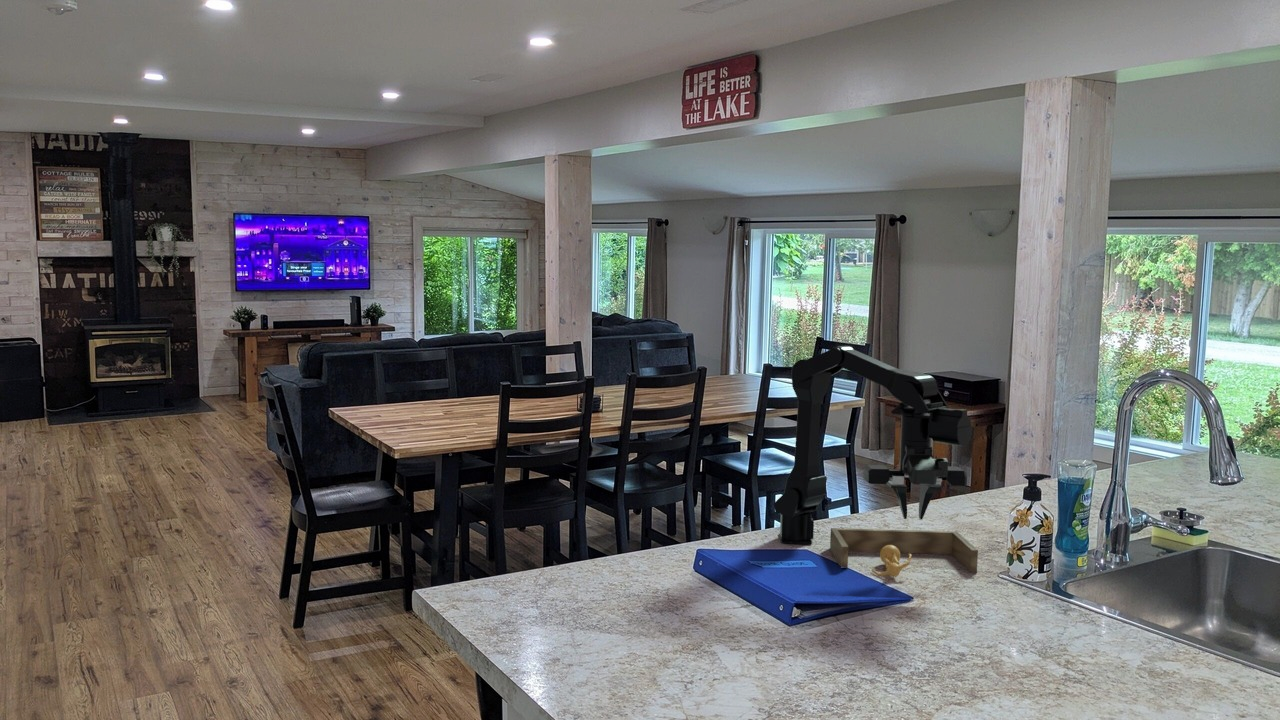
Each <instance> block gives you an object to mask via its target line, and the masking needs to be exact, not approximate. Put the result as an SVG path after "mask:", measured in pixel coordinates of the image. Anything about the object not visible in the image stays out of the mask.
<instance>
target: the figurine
mask: <svg viewBox="0 0 1280 720" xmlns="http://www.w3.org/2000/svg"><path fill="white" fill-rule="evenodd" d="M912 554H913V553H907V555H908V556H909V557H908V559H907V561H906V562H905V563H903V564H900V562H899V561H900V559H901V552H900V551H899V550H898V548H897V547H895V546H893V545H886V546H884V547H883V548H882V549H881V551H880V552H879V557H880V560H881V562H883V564H884V565H885V568H886V570H885V571H883V572H881V573H879V572H878V571H876V570H875V569H874V567H872V568H871V572H872V573H873V574H875V575H876V576H877V577H883V576H887V575H889V576H891V577H898V576H899V575H900V573H901V570H902V569H904V568H906V567H907V566H909V565H910V564H911V560H912V556H913V555H912Z"/></svg>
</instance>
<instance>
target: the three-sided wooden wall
mask: <svg viewBox="0 0 1280 720" xmlns="http://www.w3.org/2000/svg"><path fill="white" fill-rule="evenodd" d="M829 538H830V542H829V543H830V544H829V545H830V547H829V550H830V551H831V553H832V555H833V557H834V558H835V561H836V562H837V563H838V565H839V567H840V566H842V567H845V568H848V567H849V566H848V565H849V564H848V563H849V552H870V553H871V552H872V553H876V552H877V553H880V551H881V549H882V548H883V547H884V546H886V545H893V546H895V547H897V548H898V550H899V551H900V554H901V553H903V554H904V553H905V554H909V553H911V554H939V555H940V554H941V555H942V554H944V555H947V554H948V555H952V556H953V557H955V559H957V561H959V562H960V564H961V565H962V566H963V567H964V568H965V569H966V570H968V571H969V573H971V574H973V573H974V574H975V573H978V562H979V561H978V559H979V556H978V555H979V549H978V548H976V547H975V546H974V545H973V544H971V543H970V541H968V540H967V539H966V538H965V537H964V536H963V535H961V533H959V532H958V531H957V530H956V531H954V530H952V531H949V530H917V529H916V530H913V529H912V530H909V529H880V528H879V529H878V528H877V529H876V528H874V529H872V528H866V529H865V528H845V527H844V528H842V527H841V528H837V527H831V528H830V537H829ZM848 569H849V568H848Z"/></svg>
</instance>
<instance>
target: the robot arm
mask: <svg viewBox="0 0 1280 720" xmlns="http://www.w3.org/2000/svg"><path fill="white" fill-rule="evenodd" d="M843 369H844V370H846V371H848V372H851V373H853V374H856V375H857V376H859V377H861V378H864V379H867V380H869V381H870V382H873V383H875V384H877V385H879V386H882V387H883V388H884V389H886V390H887V391H888V392H889V394H890V395H891V396H892V397H893V398H895V399H896V400H897V401H899V403H898V404H897V406H896V407H894V408H893V409H891V411H890V413H891V414H892V415H896V416H900V417H901V418H900V421H901V422H900V441H899V445H898V447H899V448H900V449H899V463H898V468H899V469H889V468H888V467H887V466H886V465H884V464H866V465H865V466H864V467H863V475H862V476H863V480H865V481H866V482H867V483H868V484H870V485H871V484H872V485H887V486H888V487H890V488H891V489H893V492H894V494H895V496H896V499H897V502H898V505H899V508H900V510H901V511H900V512H901V514H902V518H903V519H904V520H907V519H908V517H907V516H908V502H907V490H908V486H907V485H906V484H905V480H907V481H908V480H909V482H910V483H911V484H913V485H920V486H919V487H920V488H919V499H918V500H919V502H918V518H919V520H923V519H924V516H925V514H926V511H927V509H928V506H929V504H930V502H931V500H932V498H933V496H934V495H935V493H937V492H938V491H939V490H943V488H944V486H943V485H942V483H943V481H945V482H947V483H948V484H949V485H950V486H953V487H954V486H957V487H964V486H967V485H968V474H967V472H965V470H963V469H962V468H960V467H958V466H954V465H953V466H952V465H951V466H950V465H949V461H948V458H946V457H936V458H934V456H933V446H932V441H934V443H938V444H943V445H944V444H945V445H953V446H960V447H966V446H967V445H968V444H969V443H970V441H971V439H972V435H973V429H974V428H973V426H972V421H971V419H970V417H969V416H968V410H967V409H966V408H960V409H959V408H958V409H957V408H955V409H954V408H950V407H949V406H948V403H947V402H946V400H945V398H944V397H943V396H942V394H941V392H940V390H939V388H938V383H937V380H936V379H935V378H934V377H933V376H932V375H930V374H928V373H923V372H919V371H913V370H906V369H900V368H897V367H895V366H892V365H890V364H887V363H885V362H883V361H882V360H881V361H880V360H878V359H876V358H874V357H871V356H870V355H867V354H866V353H863V352H860V351H858V350H856V349H854V348H853V347H852V346H850V345H838V346H837V345H836V346H833V347H832V348H830V349H828V350H826V351H825V352H821V353H820V354H817V355H814V356H812V357H809V358H804V359H799V360H797V361H796V362H795V363H794V364H793V365H792V368H791V372H790V373H791V384H792V385H791V386H792V389H793V391H794V394H795V395H796V397H797V415H796V417H797V418H796V431H795V433H796V434H795V447H794V463H793V468H792V469H791V470H790V473H789V474H788V477H787V478H786V482H785V487H784V492H783V494H782V495H781V496H780V497H779V498H778V499H776V500H775V502H773V507H774V512H775V514H778V515H780V521H779V522H780V523H779V525H780V527H779V528H780V531H779V533H778V537H779V540H780V543H781V544H800V545H801V544H802V545H811V544H813V540H814V531H815V529H814V526H815V525H814V524H815V522H814V518H812V512H816V511H817V509H818V507H819V504H821V502H822V501H823V500H824V496H825V495H827V494H828V493H827V487H826V486H827V481H828V477H827V475H822V474H821V472H820V470H819V468H818V463H819V461H818V460H819V449H820V448H819V447H820V446H819V445H820V429H821V415H822V403H823V399H824V397H825V396H826V394H827V392H828V390H829V389H830V384H831V379H832V377H833V376H834V375H836V374H838V373H839V372H841V371H842V370H843Z"/></svg>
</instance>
